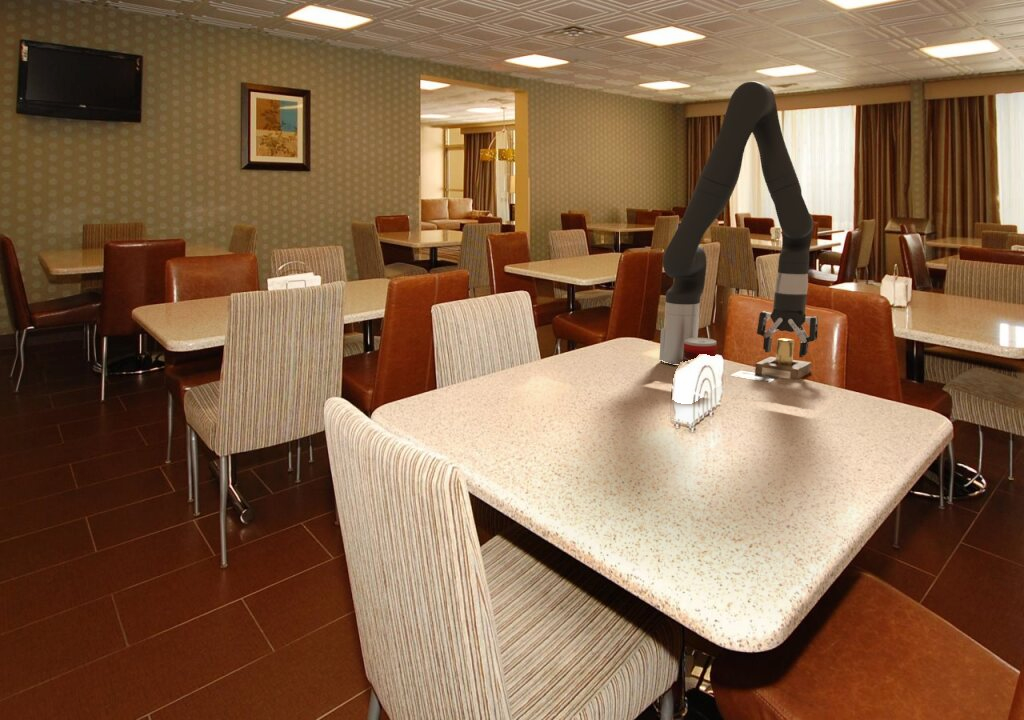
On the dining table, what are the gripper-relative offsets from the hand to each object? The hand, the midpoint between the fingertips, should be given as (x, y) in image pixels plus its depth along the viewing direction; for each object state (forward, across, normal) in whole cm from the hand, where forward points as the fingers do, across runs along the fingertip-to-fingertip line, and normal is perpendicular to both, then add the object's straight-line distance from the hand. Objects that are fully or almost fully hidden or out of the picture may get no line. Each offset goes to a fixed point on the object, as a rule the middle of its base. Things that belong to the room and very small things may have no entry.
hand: (784, 354), depth 172 cm
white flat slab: (+6, -4, -9) cm, 12 cm away
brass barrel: (+6, 0, 0) cm, 6 cm away
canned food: (+6, -14, -20) cm, 25 cm away
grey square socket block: (+6, 0, 0) cm, 6 cm away
